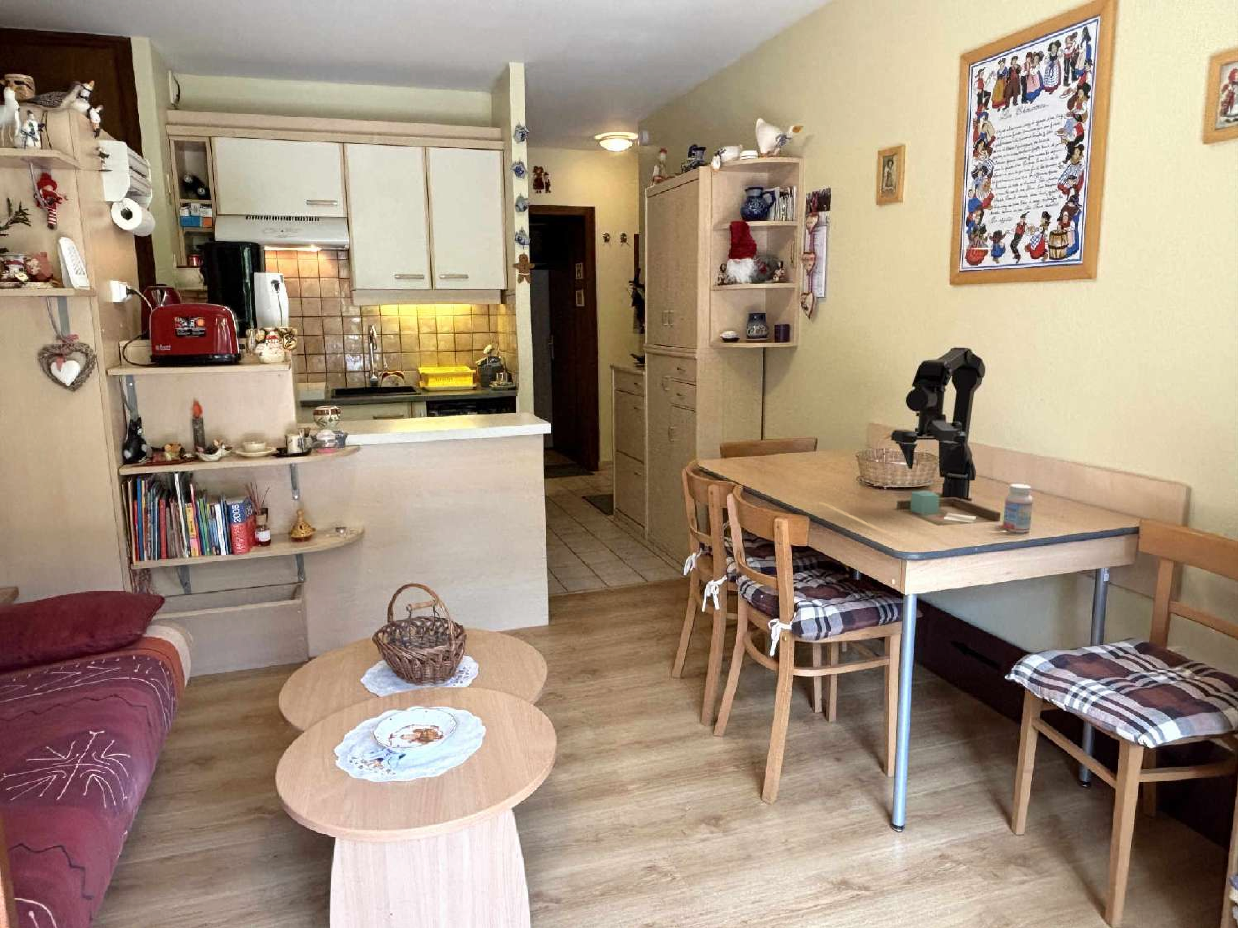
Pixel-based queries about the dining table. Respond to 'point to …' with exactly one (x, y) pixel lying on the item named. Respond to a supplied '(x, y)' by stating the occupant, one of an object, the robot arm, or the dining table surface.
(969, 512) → the arena
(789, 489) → the dining table surface
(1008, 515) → the pill bottle
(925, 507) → the teal block
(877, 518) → the dining table surface
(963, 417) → the robot arm
